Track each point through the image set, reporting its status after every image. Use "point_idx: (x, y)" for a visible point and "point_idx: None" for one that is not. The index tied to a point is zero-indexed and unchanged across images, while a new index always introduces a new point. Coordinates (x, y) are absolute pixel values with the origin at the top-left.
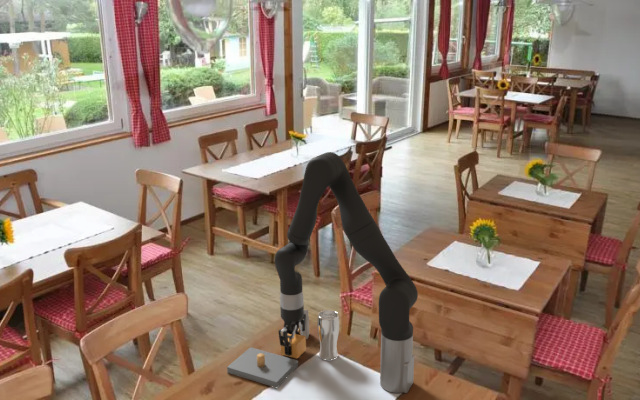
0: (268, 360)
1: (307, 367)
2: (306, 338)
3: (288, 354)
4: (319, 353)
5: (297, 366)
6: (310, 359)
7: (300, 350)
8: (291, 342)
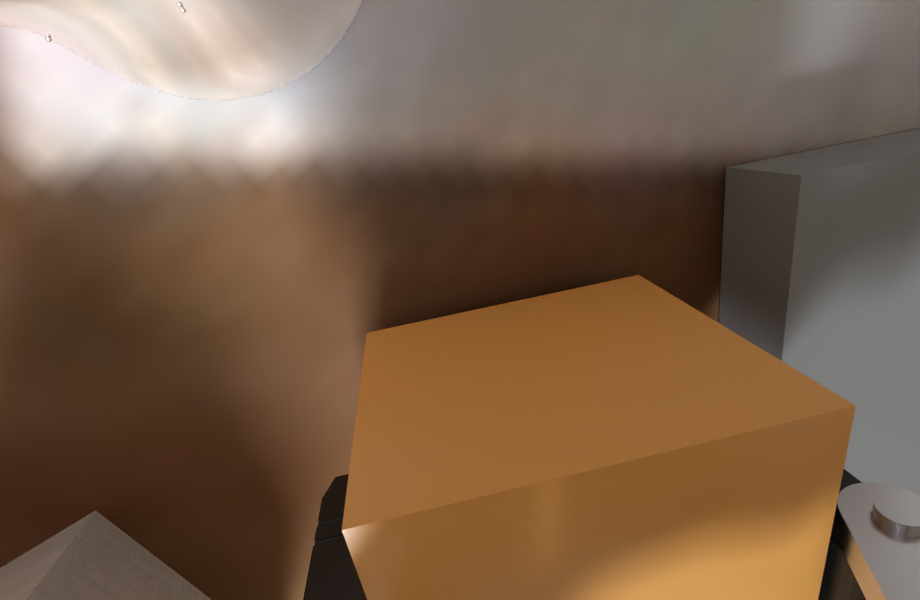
0: (915, 478)
1: (700, 17)
2: (106, 527)
3: None
4: (304, 55)
5: (746, 164)
6: (491, 129)
7: (560, 331)
8: (878, 551)
